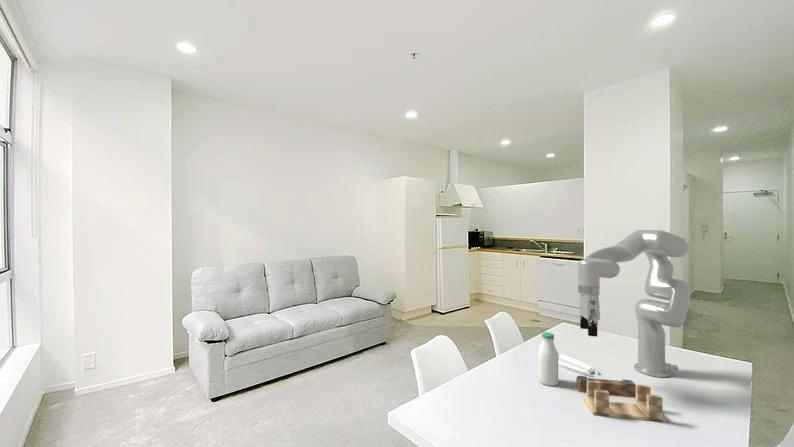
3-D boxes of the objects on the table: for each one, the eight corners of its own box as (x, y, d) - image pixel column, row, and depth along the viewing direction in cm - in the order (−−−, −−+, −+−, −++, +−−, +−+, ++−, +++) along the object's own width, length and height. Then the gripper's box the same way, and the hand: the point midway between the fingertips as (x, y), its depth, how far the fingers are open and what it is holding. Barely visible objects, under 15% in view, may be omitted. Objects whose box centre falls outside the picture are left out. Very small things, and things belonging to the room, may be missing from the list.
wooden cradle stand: (651, 408, 117) (651, 385, 117) (666, 422, 108) (666, 398, 108) (583, 401, 121) (583, 379, 121) (592, 414, 112) (592, 391, 113)
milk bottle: (557, 388, 131) (557, 338, 131) (536, 383, 135) (536, 334, 135) (559, 380, 137) (559, 332, 137) (539, 376, 141) (539, 329, 142)
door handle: (552, 354, 166) (602, 374, 144) (539, 358, 162) (587, 379, 140) (552, 349, 166) (602, 368, 144) (539, 352, 162) (587, 372, 140)
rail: (632, 393, 128) (632, 380, 128) (637, 398, 124) (637, 384, 124) (576, 388, 131) (576, 375, 132) (579, 392, 128) (579, 379, 128)
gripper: (607, 295, 125) (607, 340, 125) (591, 287, 142) (591, 326, 142) (585, 293, 127) (585, 338, 127) (572, 286, 144) (572, 325, 144)
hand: (588, 332), depth 134 cm, fingers open, 9 cm apart
